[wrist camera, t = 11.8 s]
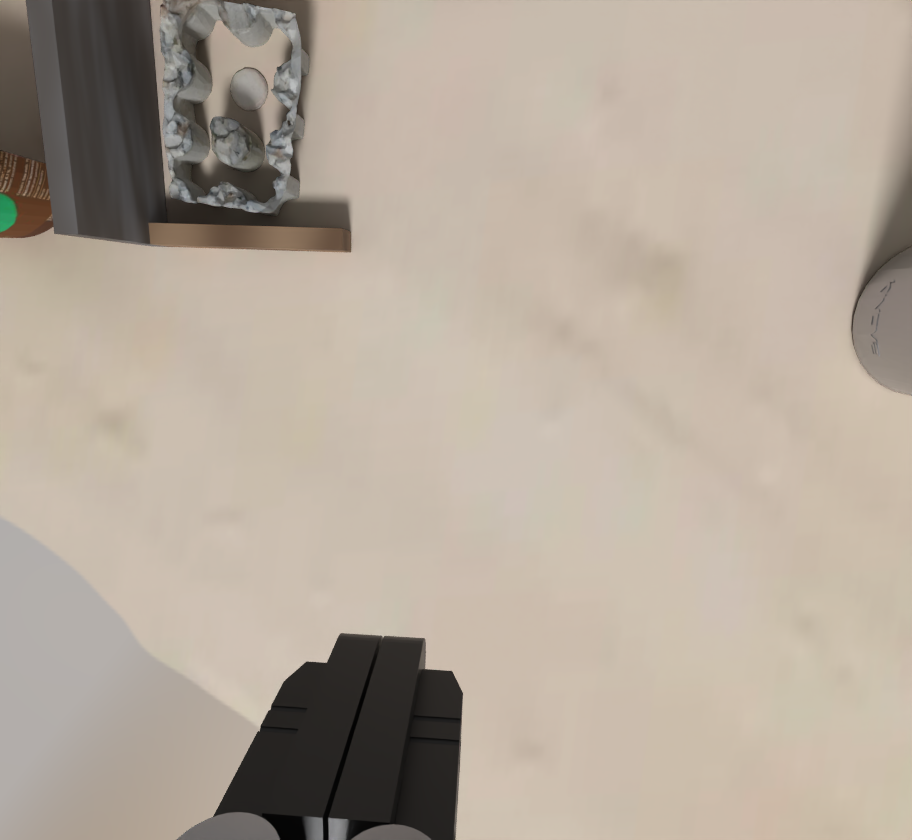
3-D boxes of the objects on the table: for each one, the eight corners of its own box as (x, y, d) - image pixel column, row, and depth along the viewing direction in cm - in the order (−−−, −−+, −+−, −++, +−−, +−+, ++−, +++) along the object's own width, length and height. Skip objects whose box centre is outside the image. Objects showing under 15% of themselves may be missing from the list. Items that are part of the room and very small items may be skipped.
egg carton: (198, 10, 32) (157, -30, 28) (325, 36, 32) (302, 0, 28) (181, 202, 35) (141, 191, 31) (300, 228, 35) (275, 219, 31)
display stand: (348, -59, 31) (301, -176, 23) (350, 252, 35) (310, 241, 27) (124, -60, 32) (4, -175, 24) (150, 246, 35) (54, 233, 27)
